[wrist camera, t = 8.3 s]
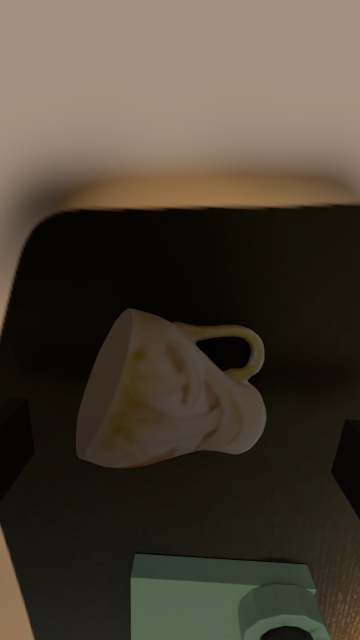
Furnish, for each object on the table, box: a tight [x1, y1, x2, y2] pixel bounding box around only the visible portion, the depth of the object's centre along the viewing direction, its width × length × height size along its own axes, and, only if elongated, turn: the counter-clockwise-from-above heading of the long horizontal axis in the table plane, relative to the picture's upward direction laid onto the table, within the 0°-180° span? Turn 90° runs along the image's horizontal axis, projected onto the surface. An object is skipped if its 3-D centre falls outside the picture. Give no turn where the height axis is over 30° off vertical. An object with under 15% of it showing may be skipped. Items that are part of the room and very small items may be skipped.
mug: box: [76, 309, 266, 468], centre depth 14 cm, size 8×10×10 cm
